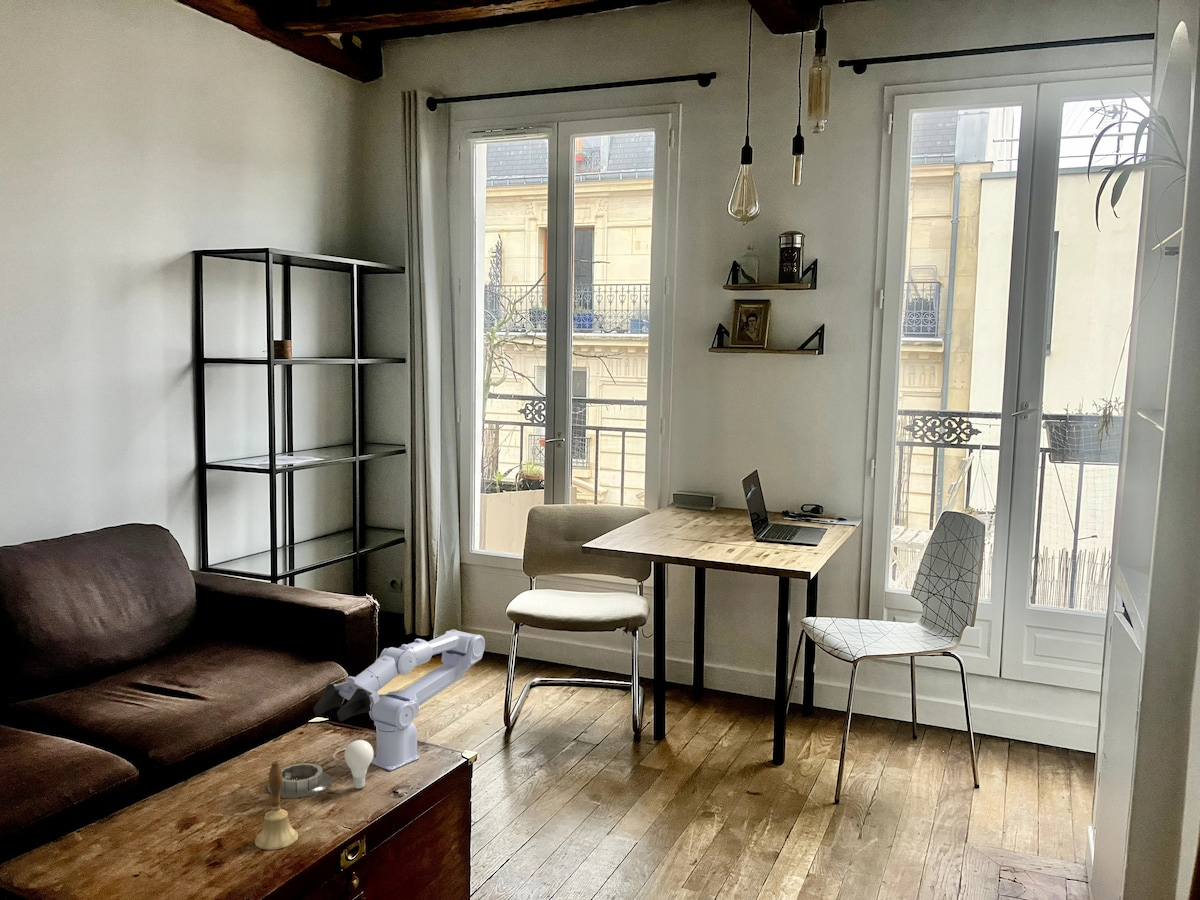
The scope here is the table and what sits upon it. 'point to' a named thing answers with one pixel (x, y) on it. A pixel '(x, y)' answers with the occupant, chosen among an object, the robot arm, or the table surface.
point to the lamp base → (303, 780)
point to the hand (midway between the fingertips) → (326, 714)
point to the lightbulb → (359, 761)
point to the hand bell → (276, 817)
